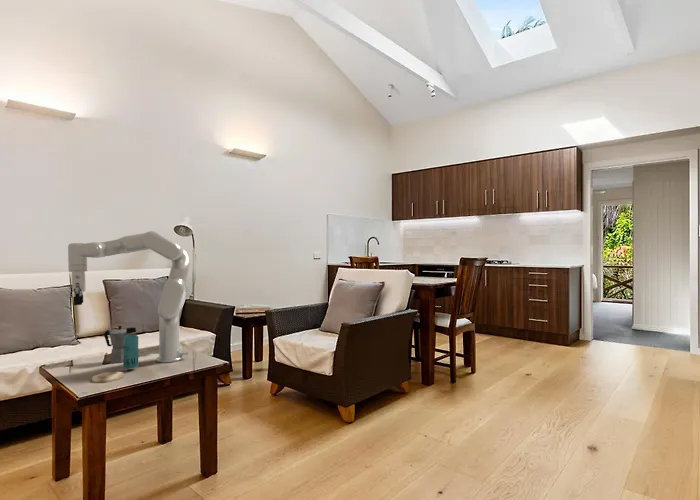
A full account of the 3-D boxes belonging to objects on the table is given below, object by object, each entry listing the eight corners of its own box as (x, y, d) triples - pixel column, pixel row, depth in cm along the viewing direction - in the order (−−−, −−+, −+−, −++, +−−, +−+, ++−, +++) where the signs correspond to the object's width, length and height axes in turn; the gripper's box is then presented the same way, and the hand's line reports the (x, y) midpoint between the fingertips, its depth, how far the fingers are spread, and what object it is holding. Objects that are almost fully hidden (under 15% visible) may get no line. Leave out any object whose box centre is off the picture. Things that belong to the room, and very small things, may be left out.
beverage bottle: (128, 368, 198) (127, 326, 198) (141, 368, 198) (141, 326, 198) (120, 372, 192) (119, 329, 192) (134, 372, 191) (134, 328, 192)
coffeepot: (137, 359, 215) (137, 324, 216) (125, 363, 206) (125, 327, 206) (110, 358, 218) (110, 324, 218) (97, 362, 208) (97, 327, 208)
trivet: (126, 373, 190) (126, 370, 190) (120, 380, 178) (120, 377, 178) (96, 375, 186) (96, 372, 186) (88, 383, 175) (88, 380, 175)
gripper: (86, 268, 194) (86, 305, 194) (88, 267, 209) (88, 301, 209) (66, 269, 190) (67, 306, 190) (70, 268, 205) (70, 302, 205)
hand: (78, 303), depth 200 cm, fingers open, 9 cm apart
